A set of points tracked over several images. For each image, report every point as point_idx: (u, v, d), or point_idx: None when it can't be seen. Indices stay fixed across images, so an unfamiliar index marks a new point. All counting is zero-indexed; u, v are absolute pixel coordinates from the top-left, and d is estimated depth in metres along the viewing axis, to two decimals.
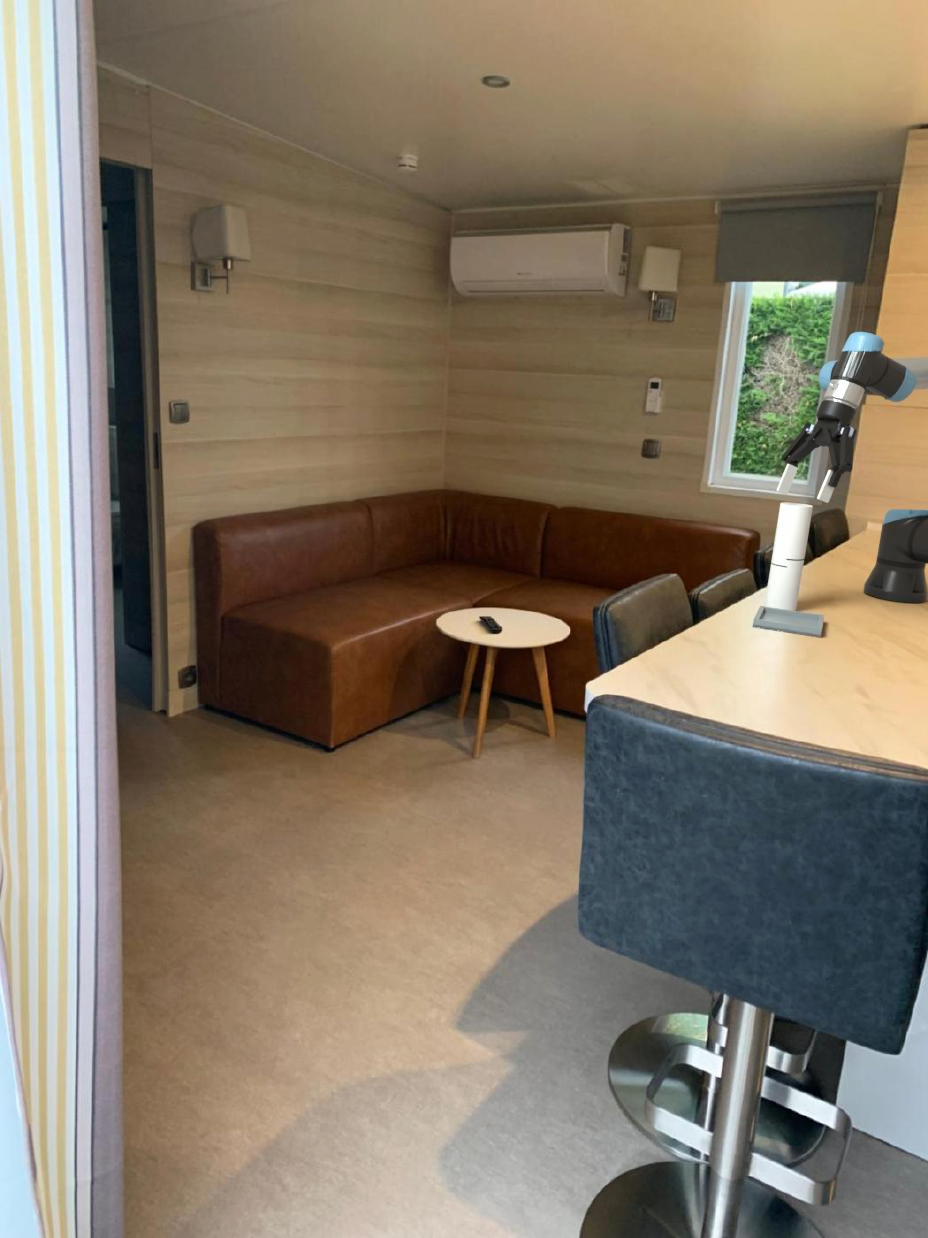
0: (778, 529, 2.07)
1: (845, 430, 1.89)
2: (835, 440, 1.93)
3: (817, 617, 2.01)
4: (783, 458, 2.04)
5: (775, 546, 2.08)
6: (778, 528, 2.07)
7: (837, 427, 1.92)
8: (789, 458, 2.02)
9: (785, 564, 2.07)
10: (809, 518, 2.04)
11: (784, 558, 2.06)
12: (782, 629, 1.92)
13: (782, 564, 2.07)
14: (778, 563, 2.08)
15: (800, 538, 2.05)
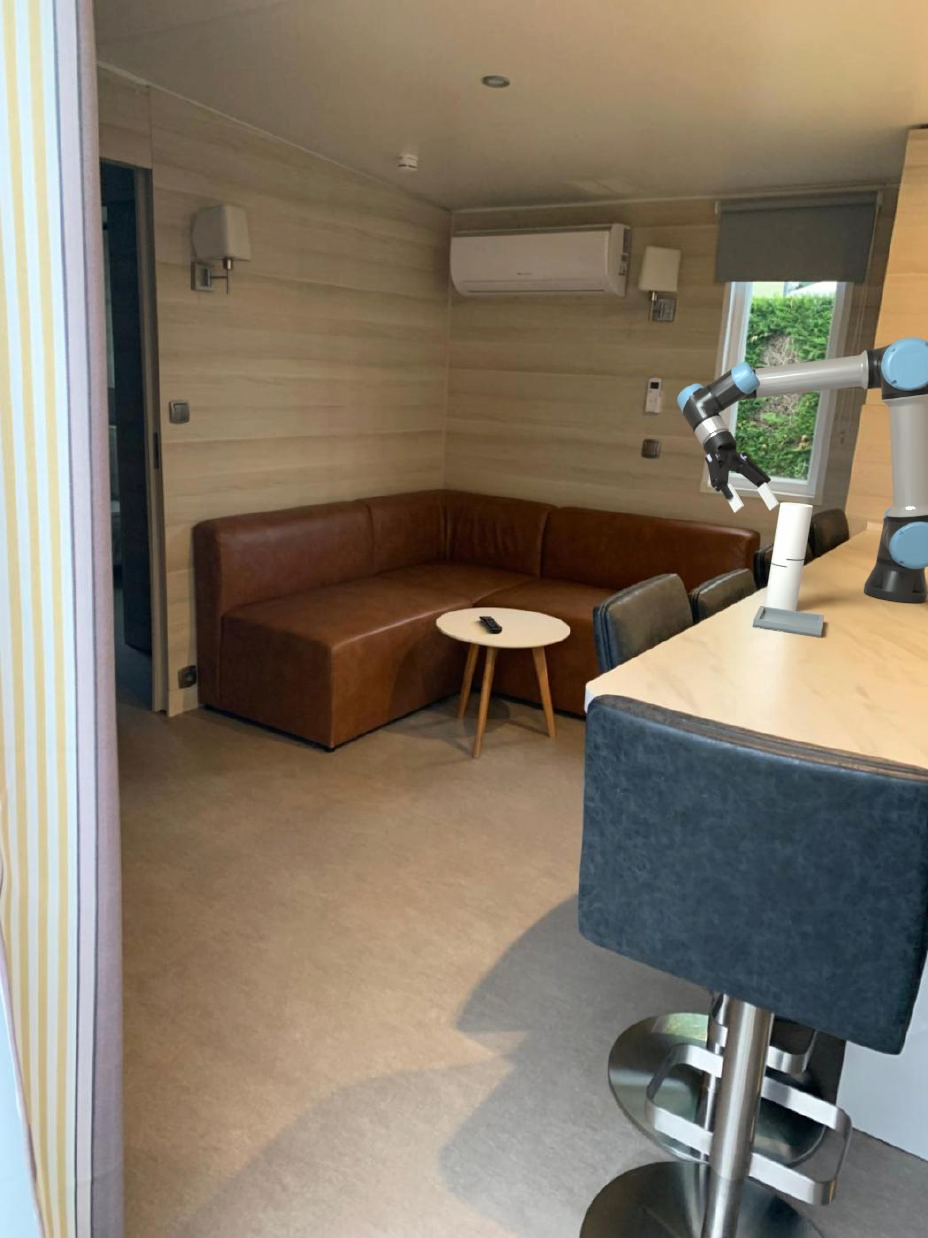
0: (778, 529, 2.07)
1: None
2: (724, 463, 2.18)
3: (817, 617, 2.01)
4: None
5: (775, 546, 2.08)
6: (778, 528, 2.07)
7: None
8: None
9: (785, 564, 2.07)
10: (809, 518, 2.04)
11: (784, 558, 2.06)
12: (782, 629, 1.92)
13: (782, 564, 2.07)
14: (778, 563, 2.08)
15: (800, 538, 2.05)
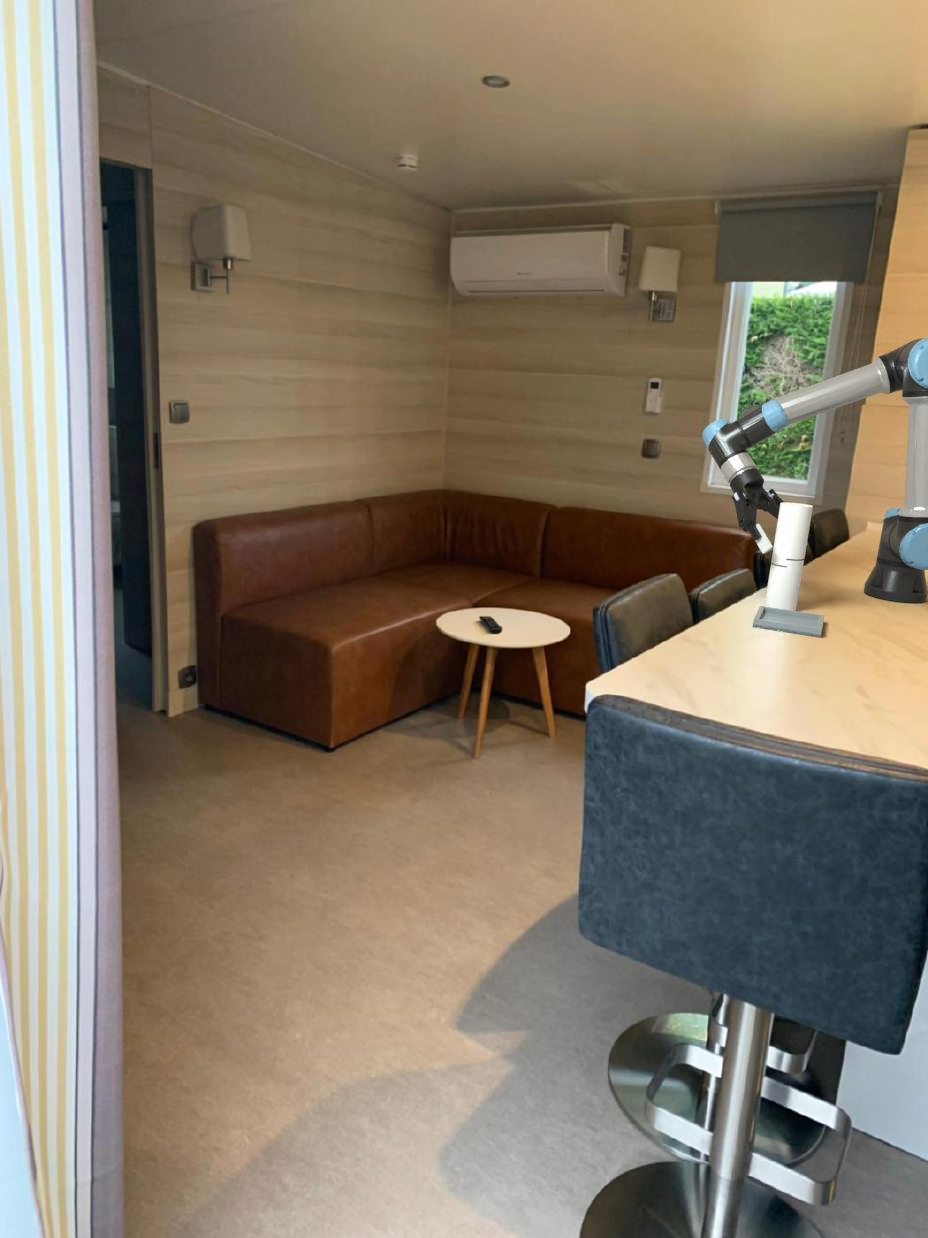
0: (778, 529, 2.07)
1: None
2: (751, 502, 2.12)
3: (817, 617, 2.01)
4: None
5: (775, 546, 2.08)
6: (778, 528, 2.07)
7: None
8: None
9: (785, 564, 2.07)
10: (809, 518, 2.04)
11: (784, 558, 2.06)
12: (782, 629, 1.92)
13: (782, 564, 2.07)
14: (778, 563, 2.08)
15: (800, 538, 2.05)
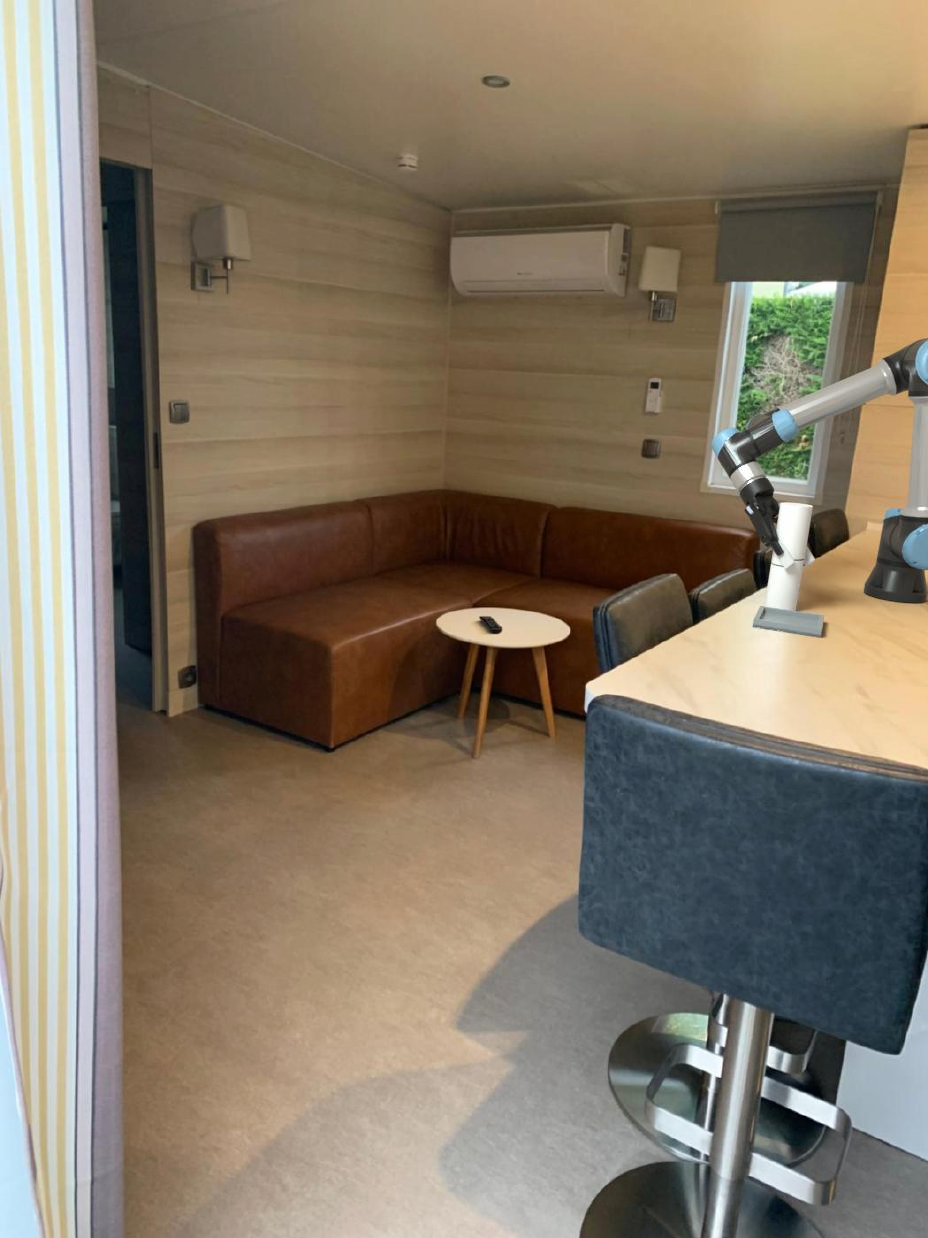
0: (778, 529, 2.07)
1: None
2: (764, 513, 2.11)
3: (817, 617, 2.01)
4: None
5: None
6: (778, 528, 2.07)
7: None
8: None
9: None
10: (809, 518, 2.04)
11: None
12: (782, 629, 1.92)
13: None
14: (778, 563, 2.08)
15: (800, 538, 2.05)
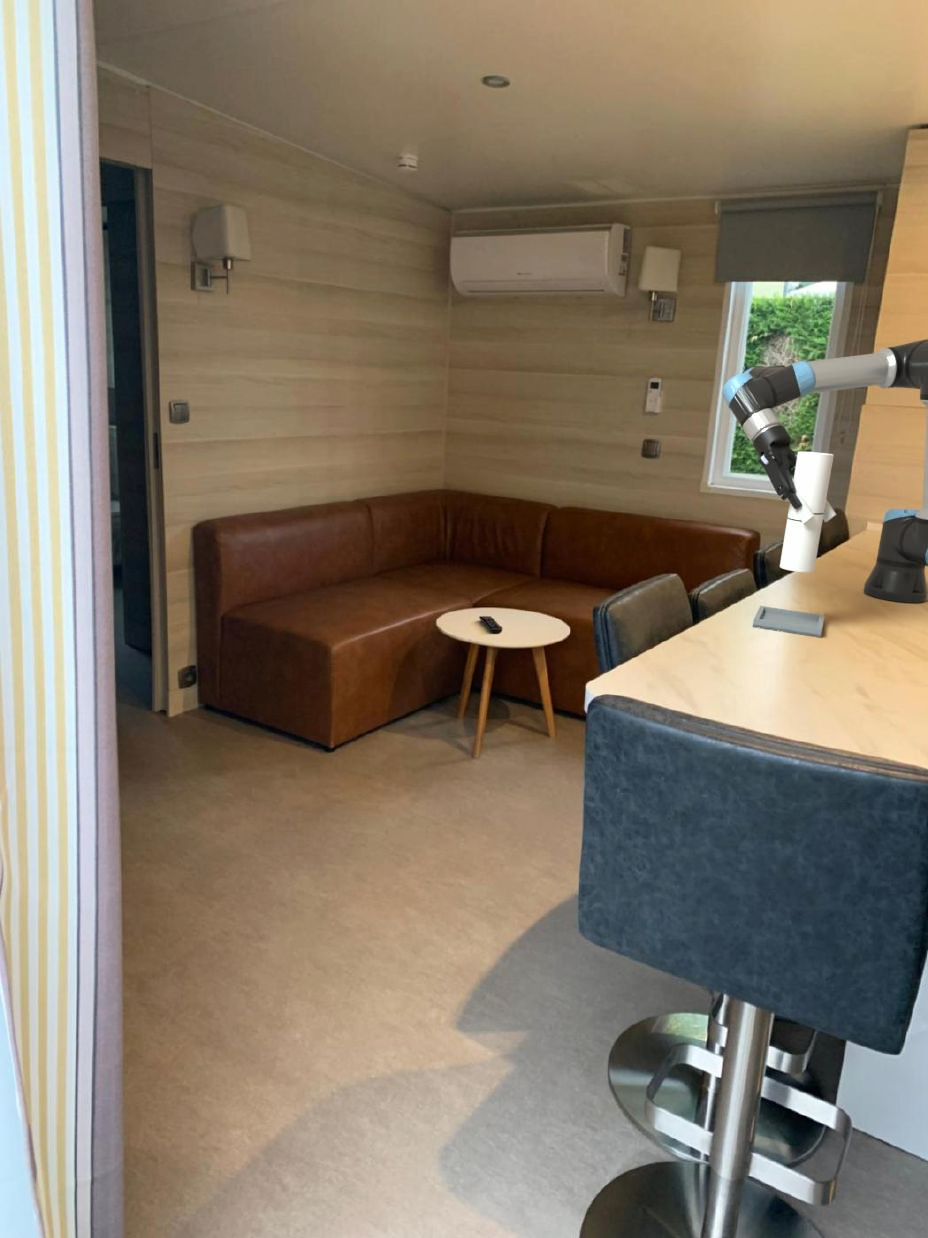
0: (795, 480, 1.89)
1: None
2: (780, 464, 1.93)
3: (817, 617, 2.01)
4: None
5: None
6: (795, 479, 1.89)
7: None
8: None
9: None
10: (829, 468, 1.87)
11: None
12: (782, 629, 1.92)
13: None
14: (795, 517, 1.90)
15: (820, 489, 1.87)
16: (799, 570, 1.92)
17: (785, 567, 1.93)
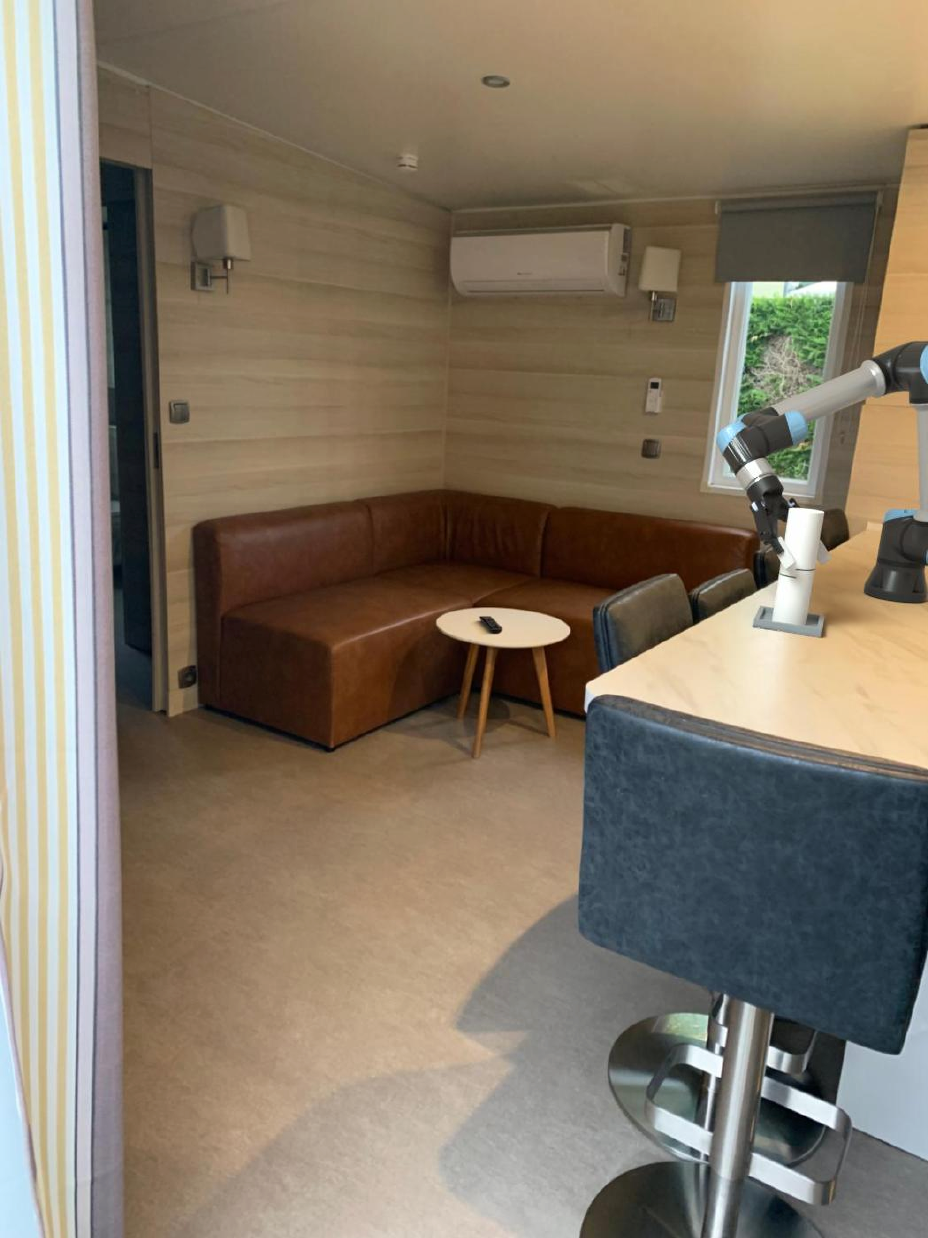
0: (787, 537, 1.93)
1: None
2: (770, 512, 1.96)
3: (817, 617, 2.01)
4: None
5: None
6: (787, 536, 1.93)
7: None
8: None
9: (794, 575, 1.92)
10: (820, 525, 1.90)
11: (793, 568, 1.92)
12: (782, 629, 1.92)
13: (791, 574, 1.92)
14: (787, 573, 1.93)
15: (810, 546, 1.90)
16: None
17: (777, 621, 1.96)
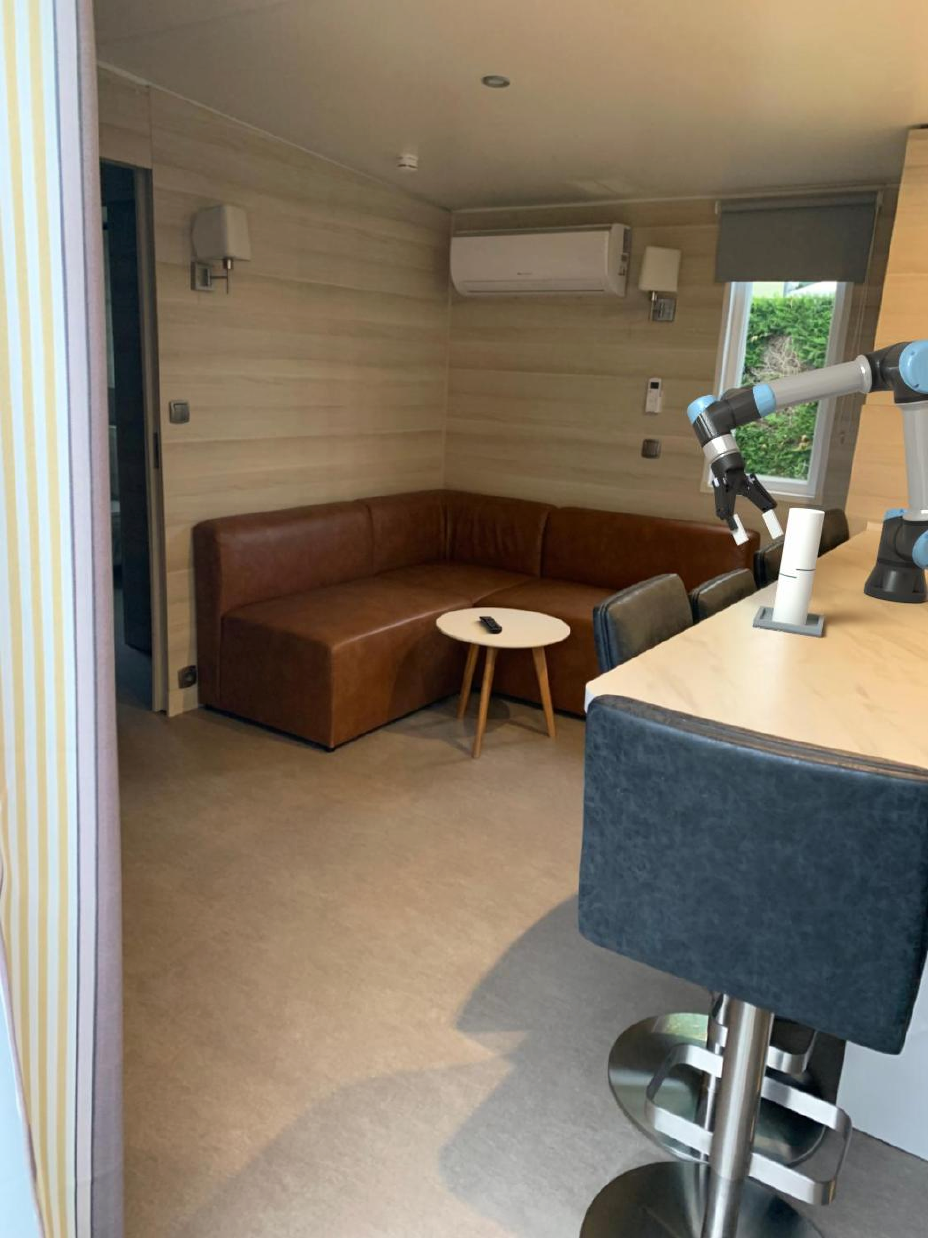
0: (787, 537, 1.93)
1: None
2: (731, 488, 2.06)
3: (817, 617, 2.01)
4: None
5: (784, 555, 1.94)
6: (787, 536, 1.93)
7: None
8: None
9: (795, 574, 1.92)
10: (820, 526, 1.90)
11: (793, 568, 1.92)
12: (782, 629, 1.92)
13: (791, 574, 1.92)
14: (787, 573, 1.93)
15: (811, 546, 1.90)
16: None
17: (777, 621, 1.96)
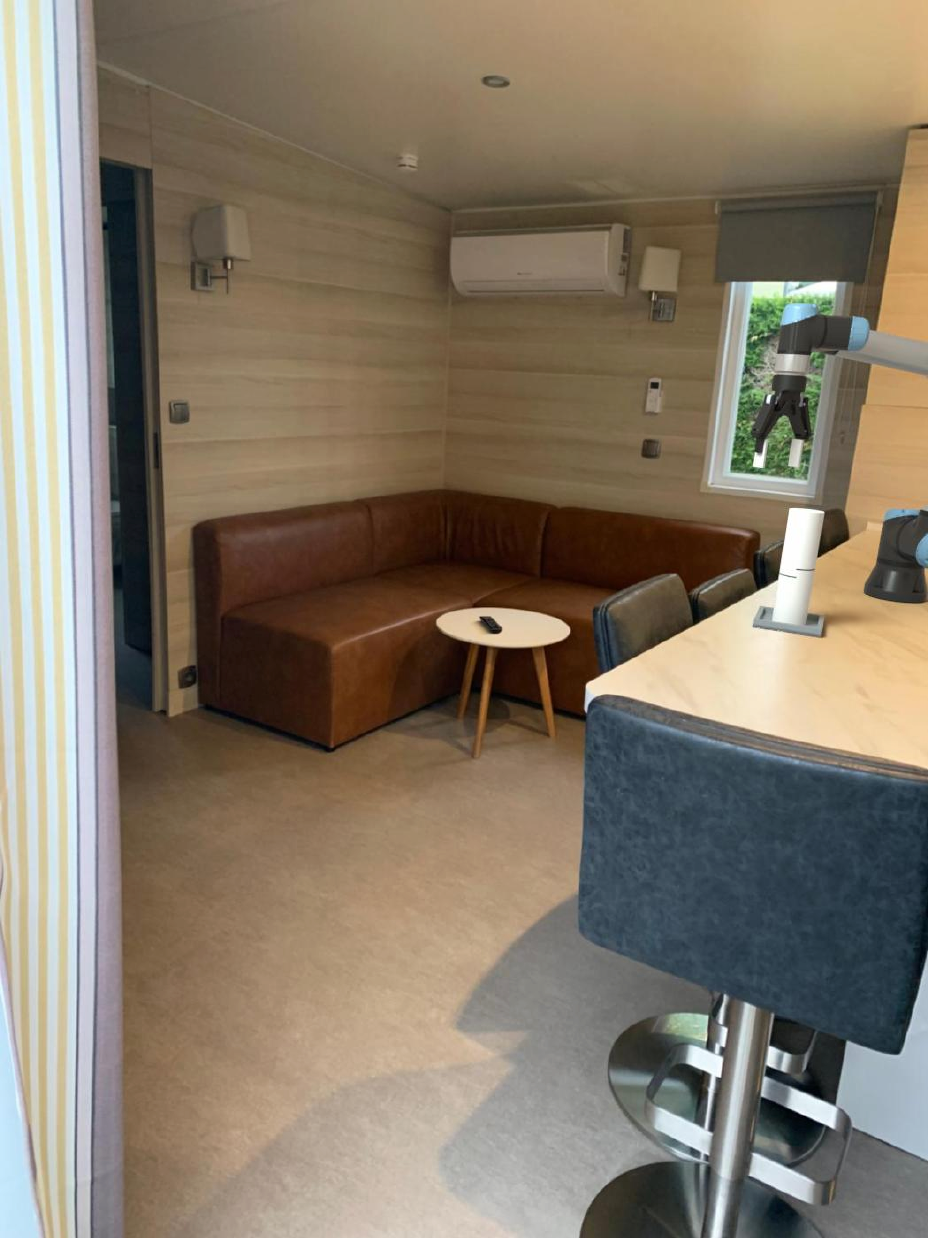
0: (787, 537, 1.93)
1: None
2: (778, 409, 2.05)
3: (817, 617, 2.01)
4: None
5: (784, 555, 1.94)
6: (787, 536, 1.93)
7: None
8: None
9: (794, 574, 1.92)
10: (820, 525, 1.90)
11: (793, 568, 1.92)
12: (782, 629, 1.92)
13: (791, 574, 1.92)
14: (787, 573, 1.93)
15: (811, 546, 1.90)
16: None
17: (777, 621, 1.96)
